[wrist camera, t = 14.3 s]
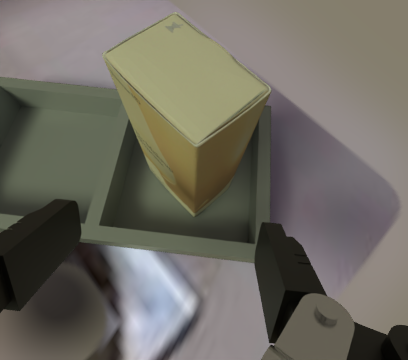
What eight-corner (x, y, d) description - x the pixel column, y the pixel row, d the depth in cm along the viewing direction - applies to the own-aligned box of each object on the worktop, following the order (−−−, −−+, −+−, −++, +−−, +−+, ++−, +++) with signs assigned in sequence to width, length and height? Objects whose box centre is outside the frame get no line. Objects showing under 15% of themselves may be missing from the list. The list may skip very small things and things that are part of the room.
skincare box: (148, 169, 21) (91, 48, 10) (185, 141, 22) (172, 4, 11) (196, 222, 20) (195, 149, 8) (233, 189, 21) (276, 84, 9)
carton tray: (-42, 227, 20) (-90, 217, 16) (21, 102, 25) (-6, 76, 21) (257, 263, 19) (269, 261, 16) (261, 129, 24) (271, 106, 21)
